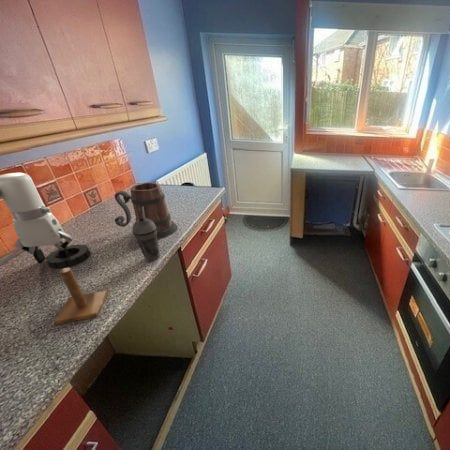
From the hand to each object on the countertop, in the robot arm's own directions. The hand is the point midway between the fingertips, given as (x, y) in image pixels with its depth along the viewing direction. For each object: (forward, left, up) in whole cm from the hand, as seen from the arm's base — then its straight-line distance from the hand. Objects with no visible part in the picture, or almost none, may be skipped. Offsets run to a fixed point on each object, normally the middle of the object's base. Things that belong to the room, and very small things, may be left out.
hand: (54, 259), depth 86 cm
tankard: (+27, +16, -1) cm, 31 cm away
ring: (+4, 0, -1) cm, 4 cm away
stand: (+17, -28, -1) cm, 33 cm away
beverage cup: (+31, -7, -1) cm, 32 cm away
